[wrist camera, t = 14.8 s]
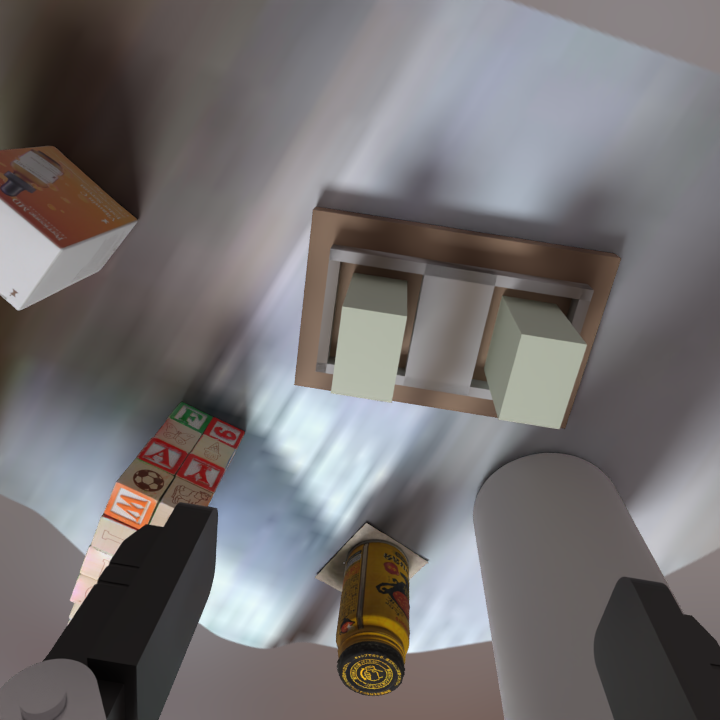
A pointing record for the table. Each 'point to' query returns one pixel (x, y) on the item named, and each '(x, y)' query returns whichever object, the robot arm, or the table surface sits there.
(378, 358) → the loose block
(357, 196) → the table surface
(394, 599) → the condiment
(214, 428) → the stack of blocks
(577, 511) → the cylinder vase
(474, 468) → the table surface
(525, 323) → the block
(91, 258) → the small box
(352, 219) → the tray
